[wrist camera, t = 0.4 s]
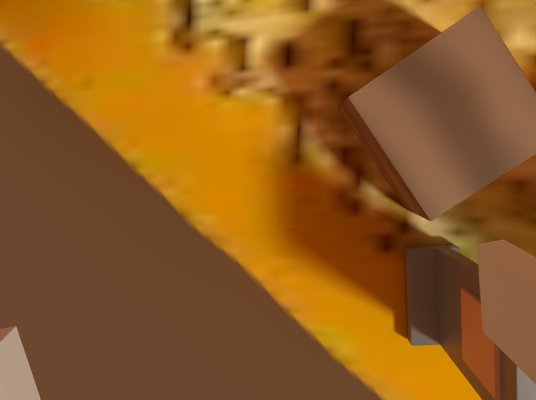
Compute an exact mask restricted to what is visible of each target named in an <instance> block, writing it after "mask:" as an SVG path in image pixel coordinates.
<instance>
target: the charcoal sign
mask: <svg viewBox="0 0 536 400" xmlns="http://www.w3.org/2000/svg"><path fill="white" fill-rule="evenodd" d="M405 274H406V300H407V326H408V340H409V342H410V344H411V345H412V346H414V345H441V346H442V347H443V349H444V350H445V351H446V353H447V354H448V355H449V357H450V358H451V359H452V361H453V362H454V363H455V364H456V366H457V367H458V368H459V370H460V371H461V372H462V374H463V375H464V376H465V378H466V379H467V380H468V381H469V383H470V384H471V385H472V387H473V388H474V389H475V391H476V392H477V393H478V395H479V396H480V397H481V398H482V400H536V384H535V383H534V382H533V381H532V380H531V379H530V378H529V377H528V376H527V375H526V374H525V373H524V372H523V371H522V370H521V369H520V368H519V367H518V366H517V365H516V364H515V363H514V362H513V361H512V360H511V359H510V358H509V357H508V356H507V355H506V354H505V353H504V352H503V351H502V350H501V349H500V348H499V347H498V346H497V345H496V344H495V343H494V342H493V341H492V340H491V339H490V338H489V337H488V336H487V335H486V334H485V333H484V332H483V330H482V314H481V299H480V283H479V268H478V264H476V263H475V262H473V261H471V260H470V259H468V258H466V257H465V256H463V255H461V254H460V253H459V247H458V246H456V245H454V244H450V245H430V246H411V247H405Z"/></svg>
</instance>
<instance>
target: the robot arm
mask: <svg viewBox="0 0 536 400" xmlns="http://www.w3.org/2000/svg"><path fill="white" fill-rule="evenodd" d="M477 252H478V268H479V283H480V299H481V314H482V330H483V332H484V333H485V334H486V335H487V336H488V337H489V338H490V339H491V340H492V341H493V342H494V343H495V344H496V345H497V346H498V347H499V348H500V349H501V350H502V351H503V352H504V353H505V354H506V355H507V356H508V357H509V358H510V359H511V360H512V361H513V362H514V363H515V364H516V365H517V366H518V367H519V368H520V369H521V370H522V371H523V372H524V373H525V374H526V375H527V376H528V377H529V378H530V379H531V380H532V381H533V382H534V383H535V384H536V257H535V256H533V255H531V254H529V253H527V252H526V251H524V250H522V249H520V248H518V247H517V246H515V245H513V244H511V243H509V242H508V241H506V240H504V239H503V240H497V241H491V242H486V243H480V244H477ZM0 400H41V399H40V396H39V393H38V390H37V388H36V384H35V382H34V378H33V376H32V373H31V370H30V367H29V364H28V361H27V358H26V355H25V352H24V349H23V346H22V343H21V340H20V337H19V334H18V331H17V328H16V326H14V327H9V328H3V329H0Z"/></svg>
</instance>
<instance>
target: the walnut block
mask: <svg viewBox="0 0 536 400" xmlns="http://www.w3.org/2000/svg"><path fill="white" fill-rule="evenodd" d="M339 109H340V111H341V112H342V114H343V115H344V117H345V118H346V120H347V121H348V123H349V124H350V126H351V127H352V129H353V130H354V132H355V133H356V135H357V136H358V138H359V139H360V141H361V142H362V144H363V145H364V147H365V148H366V150H367V151H368V153H369V154H370V156H371V157H372V159H373V160H374V162H375V163H376V165H377V166H378V168H379V169H380V171H381V172H382V174H383V175H384V177H385V178H386V180H387V181H388V183H389V184H390V186H391V187H392V189H393V190H394V192H395V193H396V195H397V196H398V198H399V199H400V201H401V202H402V204H403V205H404V207H405V208H406V209H407V210H409V211H411V212H413V213H415V214H417V215H419V216H421V217H423V218H425V219H427V220H429V221H432V220H433V219H435V218H437V217H438V216H440V215H441V214H443V213H444V212H446V211H448V210H449V209H451V208H452V207H454V206H455V205H457V204H459V203H460V202H462V201H463V200H465V199H466V198H468V197H469V196H471V195H473V194H474V193H476V192H477V191H479V190H480V189H482V188H484V187H485V186H487V185H488V184H490V183H491V182H493V181H495V180H496V179H498V178H499V177H501V176H502V175H504V174H505V173H507V172H509V171H510V170H512V169H513V168H515V167H516V166H518V165H520V164H521V163H523V162H524V161H526V160H527V159H529V158H531V157H532V156H534V155H535V154H536V92H535V90H534V89H533V87H532V85H531V84H530V82H529V81H528V79H527V78H526V76H525V74H524V73H523V71H522V70H521V68H520V67H519V65H518V64H517V62H516V60H515V59H514V57H513V56H512V54H511V53H510V51H509V49H508V48H507V46H506V45H505V43H504V42H503V40H502V39H501V37H500V35H499V34H498V32H497V31H496V29H495V28H494V26H493V24H492V23H491V21H490V20H489V18H488V17H487V15H486V13H485V12H484V10H483V9H482V7H481V6H479V7H478V8H476V9H475V10H474V11H472V12H471V13H469V14H468V15H466V16H465V17H463V18H462V19H461V20H459V21H458V22H456V23H455V24H453V25H452V26H450V27H449V28H448V29H446V30H445V31H443V32H442V33H440V34H439V35H437V36H436V37H434V38H433V39H432V40H430V41H429V42H427V43H426V44H424V45H423V46H421V47H420V48H419V49H417V50H416V51H414V52H413V53H411V54H410V55H408V56H407V57H405V58H404V59H403V60H401V61H400V62H398V63H397V64H395V65H394V66H392V67H391V68H390V69H388V70H387V71H385V72H384V73H382V74H381V75H379V76H378V77H376V78H375V79H374V80H372V81H371V82H369V83H368V84H366V85H365V86H363V87H362V88H361V89H359V90H358V91H356V92H355V93H353V94H352V95H350V96H349V97H348V98H347V99H346V100H345V101H344V102H343V103H342V104H341V106H340V107H339Z"/></svg>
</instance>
